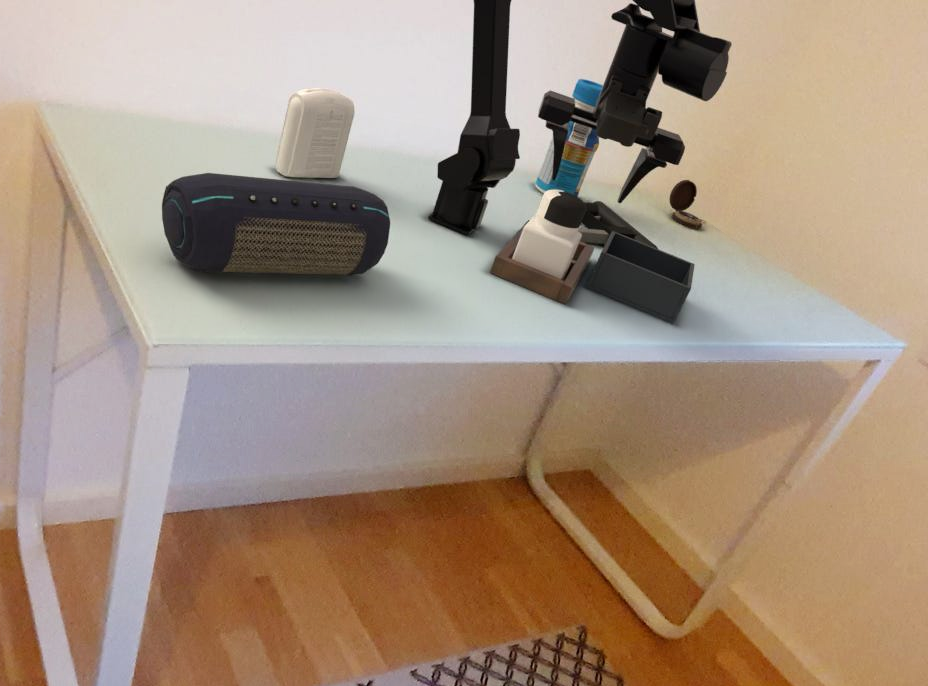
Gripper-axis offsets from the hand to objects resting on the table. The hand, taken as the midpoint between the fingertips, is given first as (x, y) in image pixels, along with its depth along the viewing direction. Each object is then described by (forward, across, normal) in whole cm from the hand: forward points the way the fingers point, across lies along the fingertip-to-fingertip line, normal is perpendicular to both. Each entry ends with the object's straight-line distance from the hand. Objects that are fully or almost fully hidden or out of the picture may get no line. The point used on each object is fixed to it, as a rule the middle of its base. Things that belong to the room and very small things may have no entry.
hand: (586, 191), depth 112 cm
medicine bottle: (+13, -2, -1) cm, 14 cm away
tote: (+13, +13, +6) cm, 19 cm away
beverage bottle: (+13, 0, +44) cm, 46 cm away
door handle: (+13, +7, +27) cm, 31 cm away
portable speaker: (+13, -32, -26) cm, 43 cm away
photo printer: (+13, -38, +9) cm, 41 cm away
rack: (+13, -1, +4) cm, 14 cm away
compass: (+13, +28, +57) cm, 65 cm away
